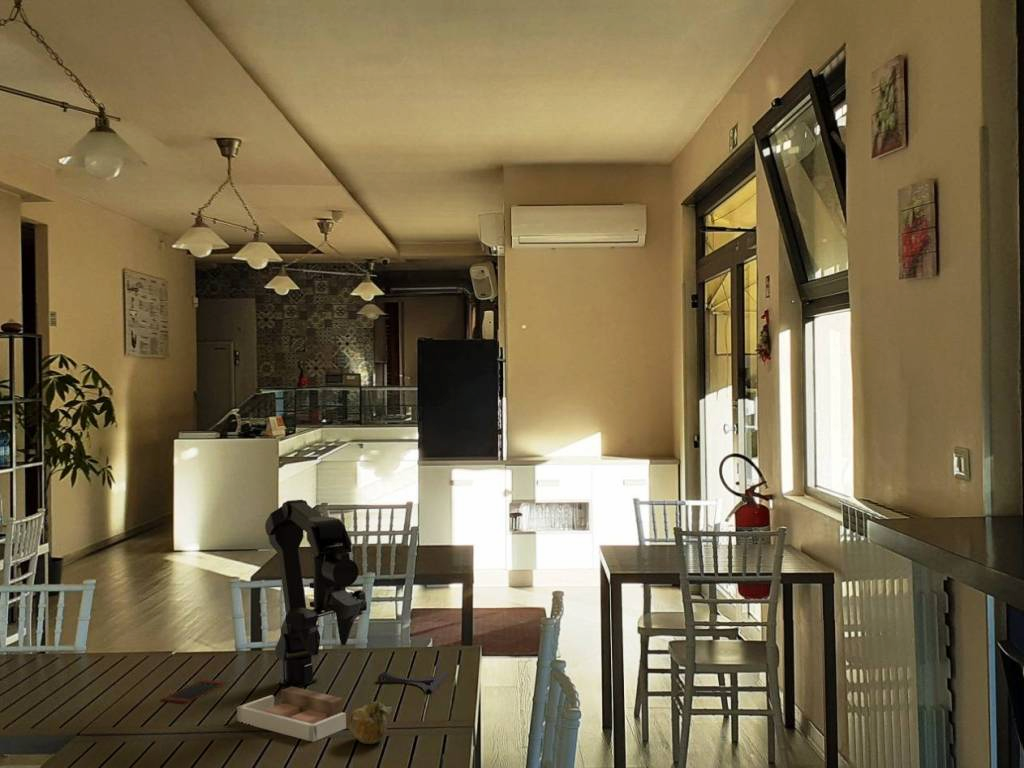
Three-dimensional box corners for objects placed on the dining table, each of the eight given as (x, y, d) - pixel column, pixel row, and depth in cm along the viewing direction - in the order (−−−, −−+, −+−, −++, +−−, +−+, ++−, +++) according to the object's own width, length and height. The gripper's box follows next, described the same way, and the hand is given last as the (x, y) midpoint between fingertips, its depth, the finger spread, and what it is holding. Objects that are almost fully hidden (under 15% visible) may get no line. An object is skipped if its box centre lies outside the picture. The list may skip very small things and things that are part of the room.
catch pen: (237, 721, 207) (237, 707, 207) (271, 709, 215) (270, 695, 215) (313, 741, 195) (312, 726, 195) (346, 728, 202) (345, 713, 202)
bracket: (387, 675, 240) (387, 663, 240) (448, 677, 237) (448, 665, 237) (368, 694, 226) (368, 682, 226) (432, 696, 223) (432, 684, 223)
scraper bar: (281, 713, 212) (281, 690, 212) (292, 709, 215) (292, 686, 215) (332, 726, 204) (331, 702, 204) (342, 722, 206) (342, 698, 206)
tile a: (264, 721, 208) (264, 709, 208) (283, 715, 212) (283, 703, 212) (280, 726, 205) (280, 714, 205) (299, 719, 209) (299, 707, 209)
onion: (378, 731, 200) (377, 691, 200) (395, 743, 193) (394, 701, 193) (342, 739, 196) (341, 698, 196) (359, 752, 189) (358, 709, 189)
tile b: (291, 728, 203) (290, 716, 203) (309, 721, 207) (309, 709, 207) (308, 733, 200) (308, 720, 200) (326, 726, 204) (326, 713, 204)
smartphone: (159, 698, 222) (202, 678, 236) (159, 703, 222) (203, 683, 236) (186, 701, 219) (228, 681, 233) (186, 706, 219) (228, 685, 233)
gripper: (320, 591, 205) (321, 667, 205) (384, 575, 220) (385, 646, 220) (283, 584, 211) (284, 658, 212) (348, 569, 226) (349, 638, 227)
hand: (327, 650), depth 217 cm, fingers open, 9 cm apart
